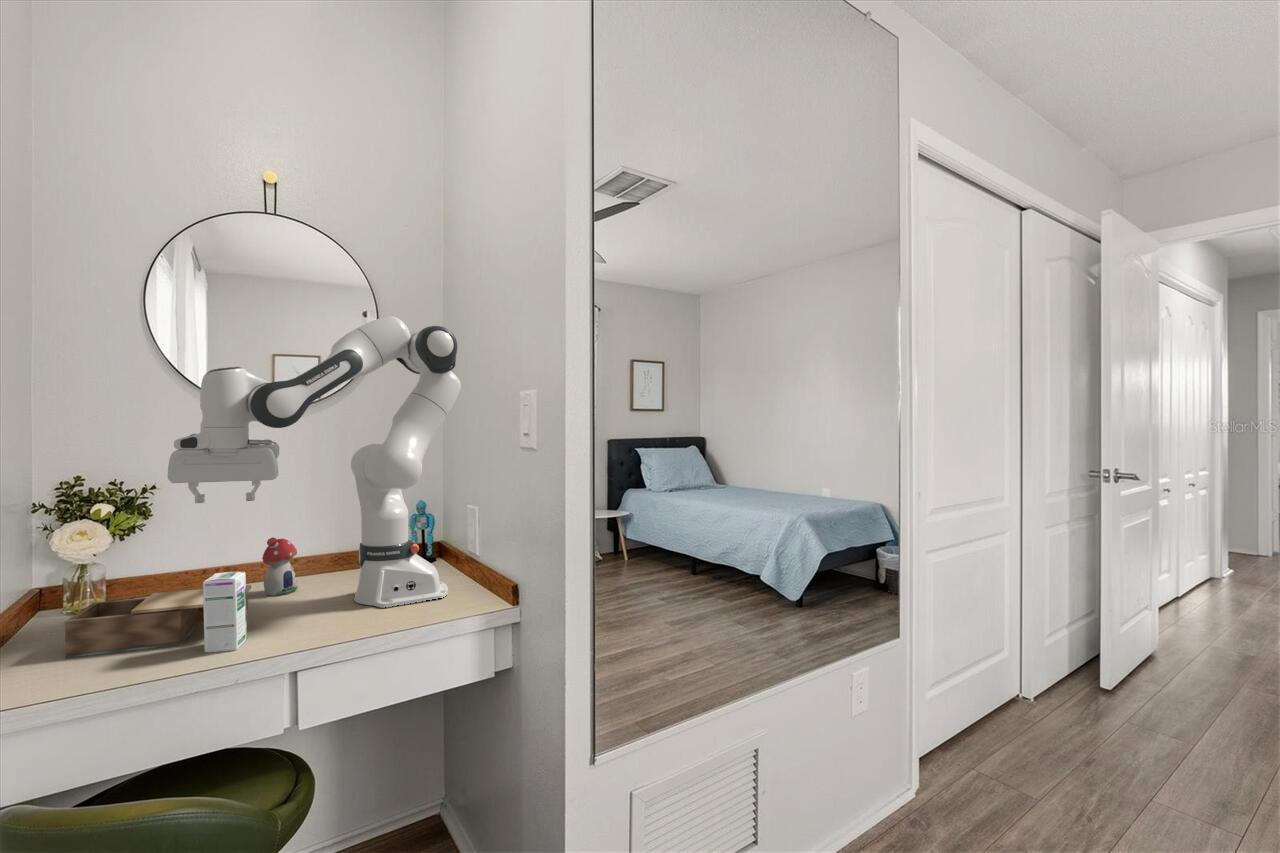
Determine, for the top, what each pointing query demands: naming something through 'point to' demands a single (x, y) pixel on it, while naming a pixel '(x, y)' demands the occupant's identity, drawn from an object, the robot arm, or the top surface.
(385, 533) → the robot arm
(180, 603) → the lid
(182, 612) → the walnut box
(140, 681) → the top surface
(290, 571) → the decorative ornament
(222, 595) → the syrup box
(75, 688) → the top surface
